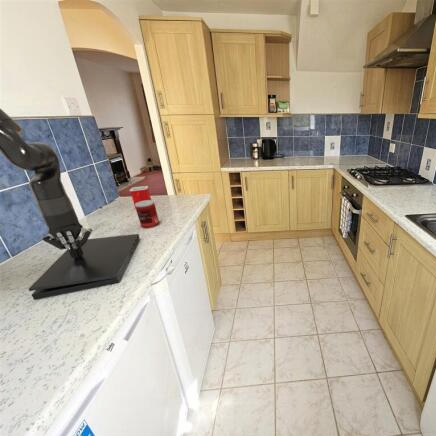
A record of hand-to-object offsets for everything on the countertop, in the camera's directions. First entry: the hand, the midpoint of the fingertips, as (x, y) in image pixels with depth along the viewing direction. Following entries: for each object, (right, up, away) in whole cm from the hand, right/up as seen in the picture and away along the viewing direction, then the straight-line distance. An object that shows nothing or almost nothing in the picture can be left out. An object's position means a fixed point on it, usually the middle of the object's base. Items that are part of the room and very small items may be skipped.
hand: (78, 257), depth 82 cm
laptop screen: (+4, 0, +2) cm, 5 cm away
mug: (-11, +19, +54) cm, 59 cm away
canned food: (+6, +10, +32) cm, 34 cm away
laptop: (+4, -3, +3) cm, 6 cm away
